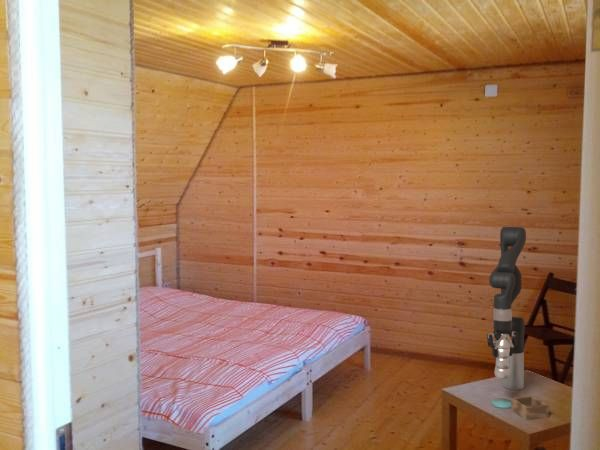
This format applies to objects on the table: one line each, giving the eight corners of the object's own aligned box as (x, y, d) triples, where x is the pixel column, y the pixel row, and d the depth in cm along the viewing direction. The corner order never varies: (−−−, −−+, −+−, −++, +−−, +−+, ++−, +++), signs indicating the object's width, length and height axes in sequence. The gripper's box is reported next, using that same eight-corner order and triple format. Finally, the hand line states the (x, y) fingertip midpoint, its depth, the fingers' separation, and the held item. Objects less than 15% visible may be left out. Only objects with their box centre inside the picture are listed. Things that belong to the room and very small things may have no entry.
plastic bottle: (491, 377, 262) (491, 332, 261) (503, 374, 265) (503, 330, 263) (501, 381, 256) (501, 335, 255) (513, 379, 259) (514, 333, 257)
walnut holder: (511, 410, 255) (511, 398, 255) (532, 407, 257) (532, 396, 257) (526, 420, 244) (526, 408, 244) (548, 417, 247) (548, 405, 246)
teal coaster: (487, 402, 265) (487, 399, 265) (506, 399, 267) (506, 397, 267) (499, 409, 256) (499, 407, 256) (517, 407, 258) (517, 404, 258)
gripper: (512, 315, 264) (512, 352, 265) (482, 317, 261) (483, 355, 262) (522, 318, 257) (522, 357, 258) (492, 321, 253) (492, 360, 255)
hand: (502, 356), depth 260 cm, fingers closed on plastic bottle, 6 cm apart
